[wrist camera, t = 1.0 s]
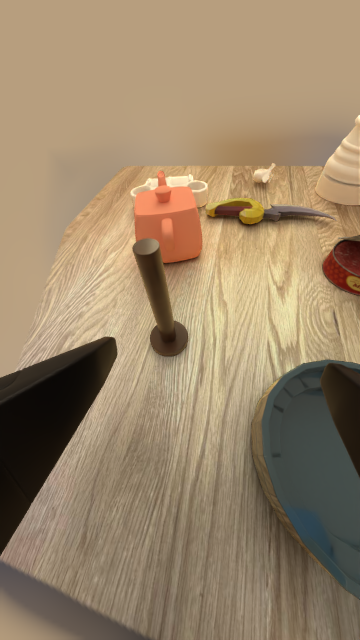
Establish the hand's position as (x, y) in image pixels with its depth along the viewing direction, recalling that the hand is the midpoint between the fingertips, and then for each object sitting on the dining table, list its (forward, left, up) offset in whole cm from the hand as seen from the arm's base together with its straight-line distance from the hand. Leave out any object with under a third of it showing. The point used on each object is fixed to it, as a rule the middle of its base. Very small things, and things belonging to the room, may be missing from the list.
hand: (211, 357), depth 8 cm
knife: (+40, +4, -15) cm, 43 cm away
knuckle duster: (+40, +27, -15) cm, 50 cm away
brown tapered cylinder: (+6, +8, -15) cm, 18 cm away
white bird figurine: (+56, +9, -15) cm, 59 cm away
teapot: (+24, +18, -15) cm, 34 cm away
